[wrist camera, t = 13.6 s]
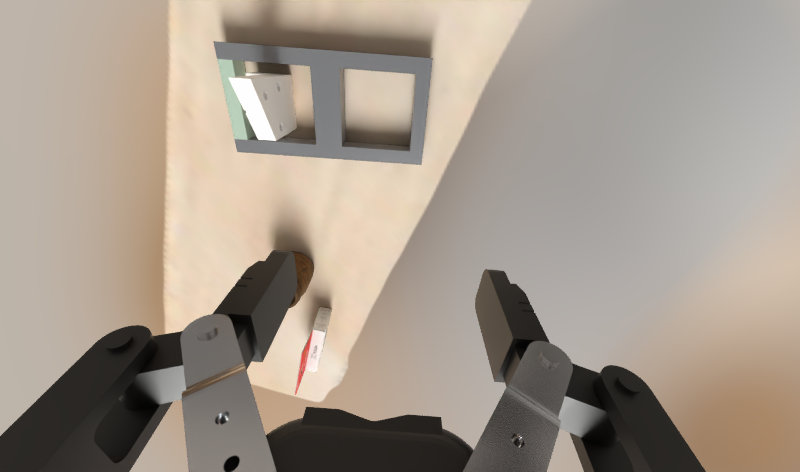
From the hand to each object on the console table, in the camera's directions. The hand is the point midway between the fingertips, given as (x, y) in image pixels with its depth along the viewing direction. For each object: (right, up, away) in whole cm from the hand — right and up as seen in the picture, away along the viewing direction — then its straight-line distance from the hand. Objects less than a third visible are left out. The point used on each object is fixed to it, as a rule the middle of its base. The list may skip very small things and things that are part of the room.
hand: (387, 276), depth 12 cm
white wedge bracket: (-14, +18, +22) cm, 31 cm away
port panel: (-7, +17, +22) cm, 29 cm away
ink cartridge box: (-14, -15, +42) cm, 46 cm away
